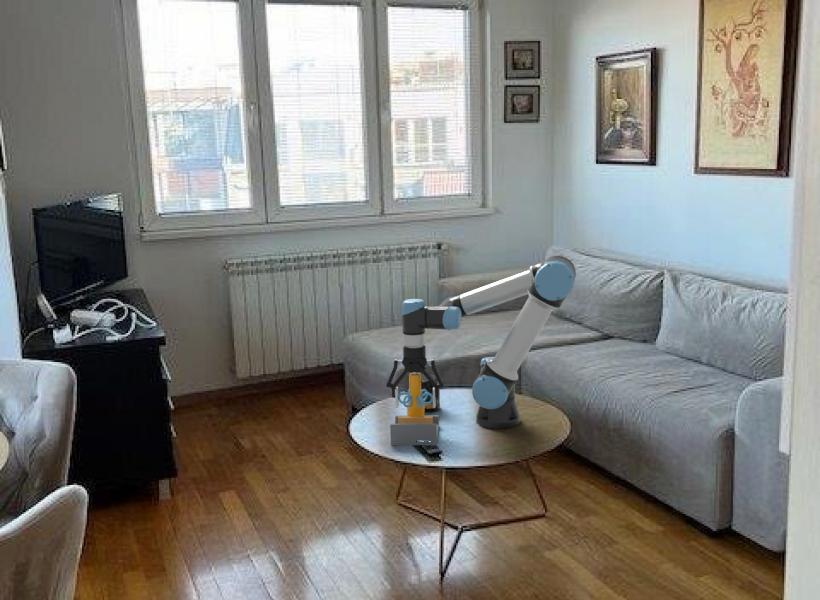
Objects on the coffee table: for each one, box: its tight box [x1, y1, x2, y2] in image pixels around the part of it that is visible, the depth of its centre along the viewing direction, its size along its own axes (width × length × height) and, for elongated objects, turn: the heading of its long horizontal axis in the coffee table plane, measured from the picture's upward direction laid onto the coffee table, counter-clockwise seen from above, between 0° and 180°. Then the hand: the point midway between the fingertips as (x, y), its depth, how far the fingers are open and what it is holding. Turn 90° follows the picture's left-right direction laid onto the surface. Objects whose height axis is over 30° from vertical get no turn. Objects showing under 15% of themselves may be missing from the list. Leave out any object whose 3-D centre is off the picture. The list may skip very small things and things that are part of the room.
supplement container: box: [421, 373, 441, 414], centre depth 309 cm, size 10×10×12 cm
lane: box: [389, 414, 440, 446], centre depth 283 cm, size 15×18×7 cm
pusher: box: [398, 417, 433, 423], centre depth 283 cm, size 12×1×6 cm, turn 86°
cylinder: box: [398, 372, 433, 417], centre depth 286 cm, size 12×10×15 cm
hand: (415, 406), depth 287 cm, fingers closed on cylinder, 12 cm apart
